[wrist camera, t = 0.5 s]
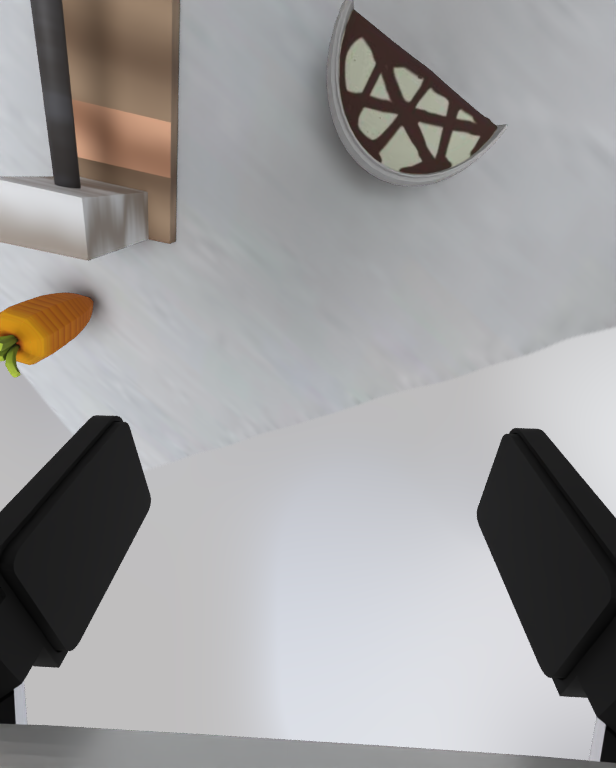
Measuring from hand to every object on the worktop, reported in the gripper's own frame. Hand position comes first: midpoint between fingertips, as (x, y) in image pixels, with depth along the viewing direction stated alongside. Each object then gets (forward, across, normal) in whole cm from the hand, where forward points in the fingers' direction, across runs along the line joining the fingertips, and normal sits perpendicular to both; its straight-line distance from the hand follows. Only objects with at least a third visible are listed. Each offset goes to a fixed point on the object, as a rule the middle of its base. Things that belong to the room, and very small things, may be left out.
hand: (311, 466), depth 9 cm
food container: (+31, -5, -9) cm, 32 cm away
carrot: (+30, +25, +6) cm, 39 cm away
